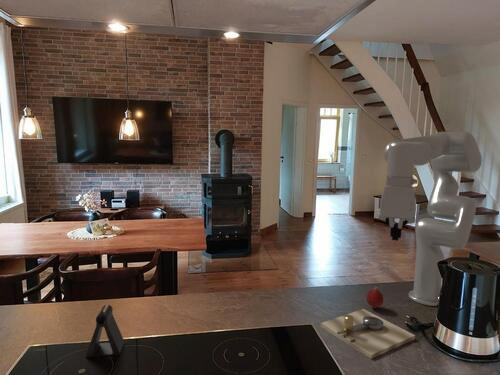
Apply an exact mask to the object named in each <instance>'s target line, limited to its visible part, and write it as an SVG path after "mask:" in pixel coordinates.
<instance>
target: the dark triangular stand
mask: <svg viewBox="0 0 500 375" xmlns="http://www.w3.org/2000/svg"><path fill="white" fill-rule="evenodd" d="M105 308H106V309H105ZM113 308H114V307H113V306H111V305H110V304H108V305H107V307H106V304H105V305H103V306H102V308H101V309H100V311H99V312H98V313H97V316H96V318H95V322H96V325H95V329H94V332H93V334H92V338H91V340H90V341H89V342H90V343H89V346H88V348H87V351H86V355H85V357H86V358H94V357H103V356H104V357H109V356H120V355H121V352H122V350H123V346H124V344H125V340H124V337H123V336H122V333H121V331H120V328H119V326H118V323H117V322H116V319H115V317H114V313H113V310H114V309H113ZM104 310H105V311H104ZM103 328H104V331H105V334H106V336H107V340H108V342H102V343H101V342H100V340H101V335H102V332H103Z"/></svg>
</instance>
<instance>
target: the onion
mask: <svg viewBox="0 0 500 375" xmlns="http://www.w3.org/2000/svg"><path fill="white" fill-rule="evenodd" d="M365 299H366V302H367V304H368V305H369V306H371V308H373V309H377V308H379V307H381V306H382V305H383V303H384V300H385V299H384V295H383V294H382V292H381V291H380V290H379V288H378V286H376V287H374V288H372V289H370V290H369V291H368V292H367V294H366V297H365Z"/></svg>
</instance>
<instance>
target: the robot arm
mask: <svg viewBox="0 0 500 375" xmlns="http://www.w3.org/2000/svg"><path fill="white" fill-rule="evenodd" d="M475 138H476V137H475V136H474V135H472V134H471V132H468V131H439V132H436V133H431V134H429V135H427V134H426V135H422V136H415V137H410V138H403V139H402V138H399V139H397V140H393V141H390V142H388V144H386V146H385V148H384V151H383V154H384V155H383V157H384V159H385V161H386V162H387V166H386V167H387V168H386V170H387V171H386V183H385V184H384V186H383V189H382V193H381V197H380V198H381V199H380V205H379V215H378V219H379V220H381V221H384V222H386V223H387V225H388V226H389V227H390V233H389V234H390V235H389V236H390V237H392V238H391V240H392V241H397V242H398V240H399V239H401V238H402V230H403V229H402V228H404V226H406V225H411V224H415V227H414V229H415V230H414V231H415V233H414V234H415V242H416V243H415V244H416V253H415V264H414V266H415V267H414V280H413V289H412V290H410V291H409V292H408V297H409V298H410V300H412V301H414V302H415V303H418V304H422V305H426V306H433V307H437V304H438V297H439V293H440V288H441V276H440V273H439V269H438V266H437V263H438V262H439V261H442V260H444V261H445V255H444V252H443V249H441V247H445V248H451V249H454V250H455V249H456V250H462V249H464V248H465V247H466V246H467V243H468V242H469V238H470V233H471V232H472V227H473V224H474V220H475V216H476V211H477V207H476V206H477V204H476V202H475V200H474V199H473V198H472V197H469V196H465V195H458V191H459V187H460V186H459V182H458V181H457V179H456V178H455V176H453V175H452V173H451V172H454V173H455V172H456V173H457V172H458V173H476V172H477V171H478V170H480V168H481V167H482V161H483V160H482V155H481V151H480V149H479V146H478V143H477V141H476V139H475ZM429 162H430V166H431V171H432V175H433V179H434V184H433V188H432V190H431V193H430V197H429V199H428V203H427V206H426V211H427V214H428V215H429V216H430V217H424V218H421V219H419V220H418V221H417V222H416V214H417V213H416V211H417V192H416V187H415V186H413V185H415V184H419V179H417V178H414V167H415V166H418V167H419V166H425V165H427V164H428V163H429ZM395 219H398V224H397V225H396V222H395V221H396V220H395Z"/></svg>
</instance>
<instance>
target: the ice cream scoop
mask: <svg viewBox="0 0 500 375" xmlns="http://www.w3.org/2000/svg"><path fill="white" fill-rule="evenodd" d="M344 315H345V316H344V329H343V330H339V333H340V334H342V333H346V332H347V333H352V332H355V331H359V330H362V329H366V328H368V329H371V330H381V329H383V321H382V320H381V319H379V318H376V317H371V316H366V317H364V318H363V323H362V324H358V325H354V326H353V317H352V316H350V315H346V314H344Z"/></svg>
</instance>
